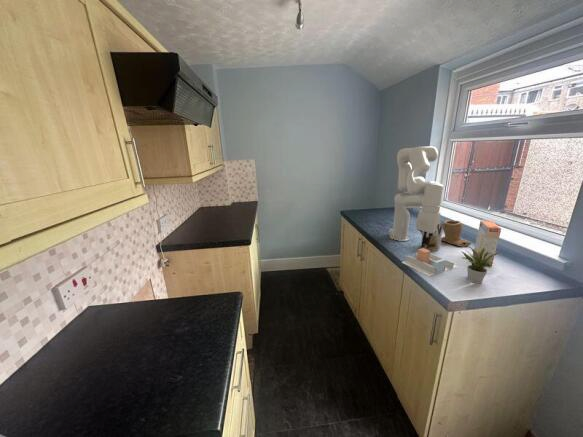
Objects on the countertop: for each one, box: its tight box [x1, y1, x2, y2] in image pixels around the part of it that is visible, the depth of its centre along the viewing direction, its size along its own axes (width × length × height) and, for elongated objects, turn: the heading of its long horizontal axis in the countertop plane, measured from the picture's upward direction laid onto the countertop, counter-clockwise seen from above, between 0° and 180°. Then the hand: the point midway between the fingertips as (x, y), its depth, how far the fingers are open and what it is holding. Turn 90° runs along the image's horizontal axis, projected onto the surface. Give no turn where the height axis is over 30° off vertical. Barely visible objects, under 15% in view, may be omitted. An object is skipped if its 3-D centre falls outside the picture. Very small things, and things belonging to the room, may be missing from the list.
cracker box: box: [472, 220, 502, 266], centre depth 124 cm, size 14×6×21 cm, turn 153°
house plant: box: [460, 245, 503, 285], centre depth 105 cm, size 14×14×16 cm
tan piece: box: [441, 219, 472, 247], centre depth 148 cm, size 15×12×15 cm
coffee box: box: [420, 224, 444, 252], centre depth 139 cm, size 9×6×16 cm
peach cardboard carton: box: [417, 248, 431, 264], centre depth 120 cm, size 4×4×8 cm
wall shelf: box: [401, 252, 459, 277], centre depth 121 cm, size 16×22×7 cm
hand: (425, 243), depth 118 cm, fingers closed
